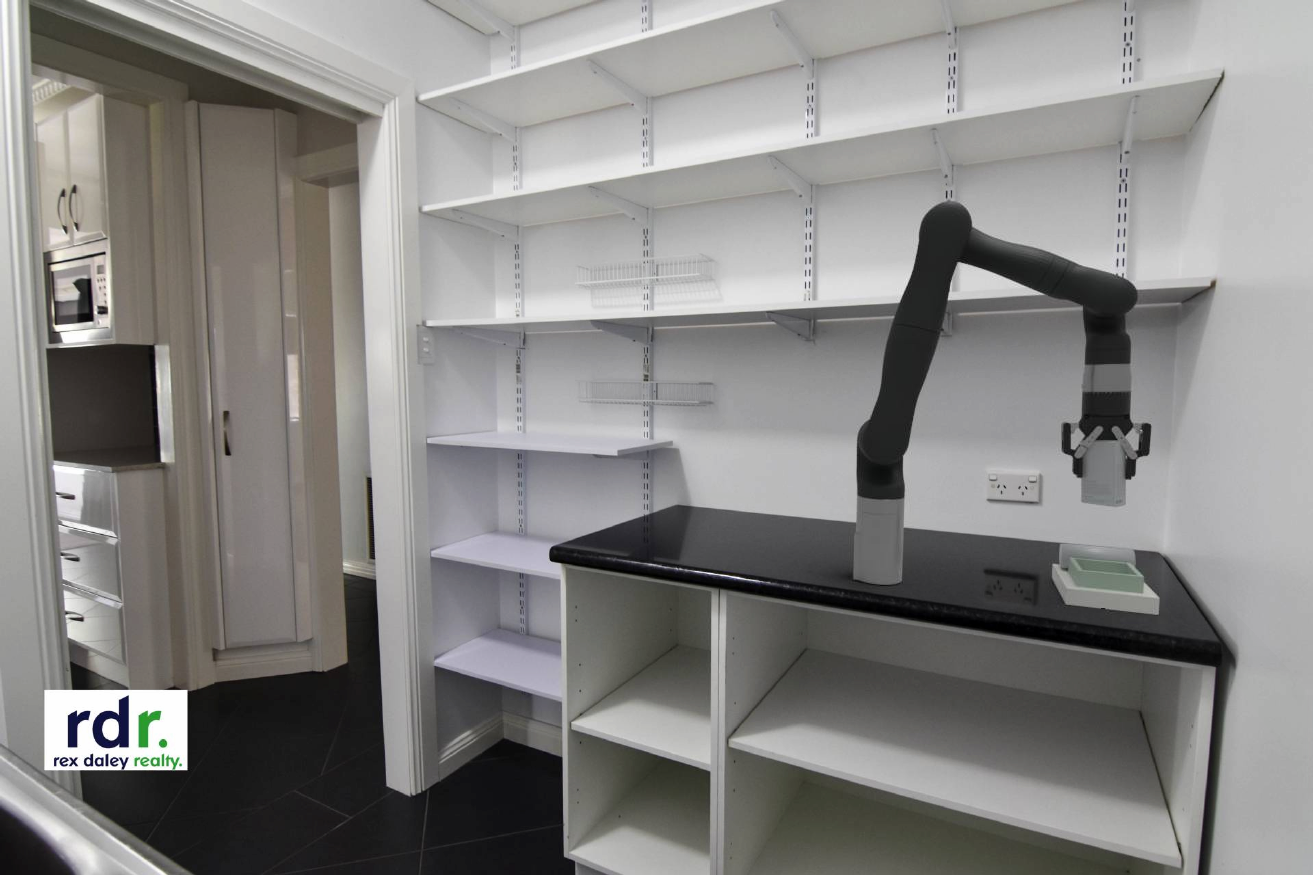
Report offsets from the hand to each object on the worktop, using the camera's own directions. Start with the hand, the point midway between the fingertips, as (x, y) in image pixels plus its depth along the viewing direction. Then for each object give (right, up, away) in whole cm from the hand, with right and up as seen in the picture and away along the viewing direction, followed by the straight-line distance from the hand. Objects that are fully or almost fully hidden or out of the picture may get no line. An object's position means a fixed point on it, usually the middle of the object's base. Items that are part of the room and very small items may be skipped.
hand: (1103, 478), depth 126 cm
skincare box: (0, -5, 0) cm, 5 cm away
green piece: (+1, -20, +1) cm, 20 cm away
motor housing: (+2, -22, +3) cm, 23 cm away
